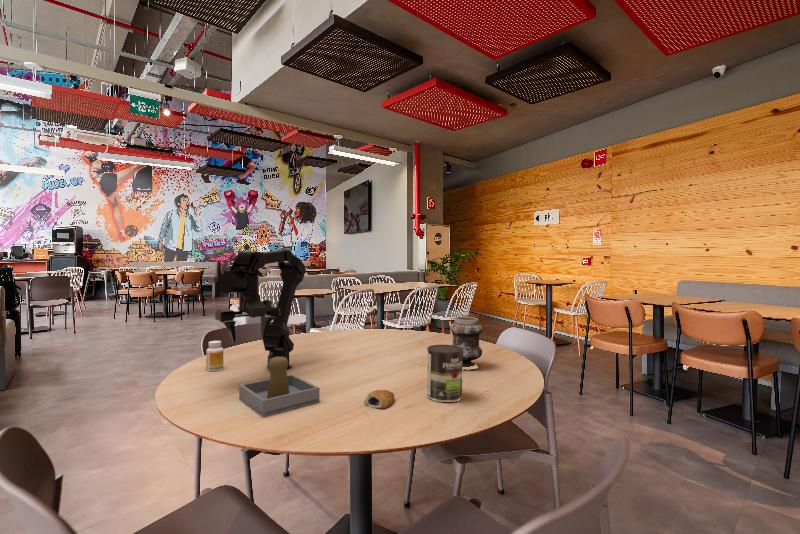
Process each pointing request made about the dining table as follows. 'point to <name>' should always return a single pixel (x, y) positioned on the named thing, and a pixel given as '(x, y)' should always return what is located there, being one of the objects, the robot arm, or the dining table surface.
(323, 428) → the dining table surface
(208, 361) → the supplement bottle
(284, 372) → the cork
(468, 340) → the apothecary jar
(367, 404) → the pastry
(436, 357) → the coffee can
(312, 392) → the grey bin
